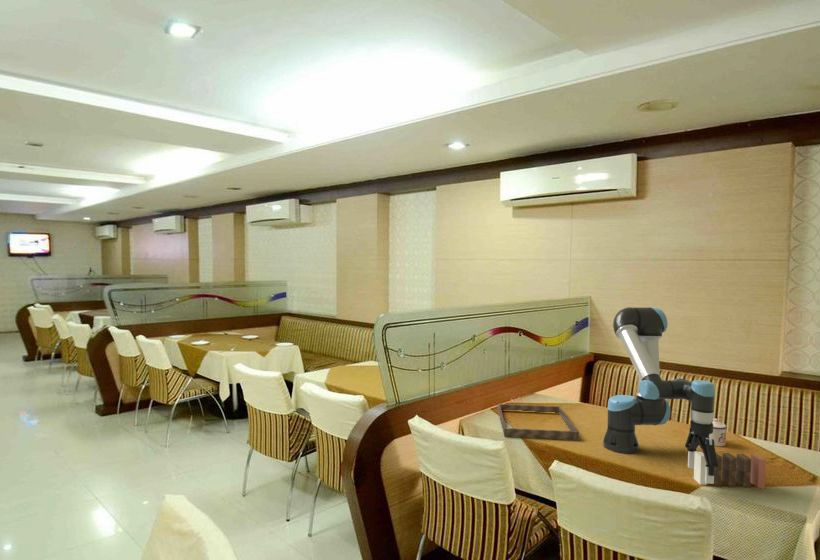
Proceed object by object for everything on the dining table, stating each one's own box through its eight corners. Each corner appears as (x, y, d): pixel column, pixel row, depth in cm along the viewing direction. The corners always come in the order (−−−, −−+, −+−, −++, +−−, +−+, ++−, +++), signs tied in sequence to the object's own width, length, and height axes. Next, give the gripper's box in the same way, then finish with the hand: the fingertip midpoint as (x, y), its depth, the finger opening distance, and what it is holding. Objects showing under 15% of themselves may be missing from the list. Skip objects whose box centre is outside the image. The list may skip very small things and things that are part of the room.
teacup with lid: (722, 448, 218) (723, 423, 218) (700, 442, 225) (701, 418, 225) (730, 442, 226) (731, 418, 226) (709, 436, 233) (709, 413, 233)
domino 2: (714, 485, 180) (715, 457, 180) (707, 479, 185) (708, 451, 185) (721, 485, 180) (721, 457, 180) (714, 480, 185) (714, 452, 185)
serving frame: (504, 436, 230) (504, 428, 229) (497, 410, 271) (497, 403, 271) (578, 440, 226) (578, 432, 226) (560, 413, 268) (560, 406, 267)
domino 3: (728, 486, 180) (729, 457, 179) (721, 480, 185) (722, 452, 184) (735, 486, 179) (736, 458, 179) (728, 480, 184) (729, 453, 184)
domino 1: (700, 484, 181) (701, 456, 181) (693, 478, 186) (694, 451, 185) (706, 485, 181) (707, 456, 180) (700, 479, 186) (701, 451, 185)
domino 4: (743, 487, 179) (744, 458, 179) (735, 481, 184) (736, 453, 184) (750, 487, 179) (751, 458, 179) (742, 481, 184) (743, 453, 184)
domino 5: (758, 488, 179) (759, 459, 178) (750, 482, 184) (750, 454, 183) (764, 488, 178) (765, 459, 178) (756, 482, 183) (757, 454, 183)
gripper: (730, 432, 170) (728, 491, 170) (696, 411, 195) (694, 462, 195) (708, 431, 171) (706, 489, 171) (677, 411, 195) (675, 461, 196)
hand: (700, 475), depth 183 cm, fingers open, 13 cm apart
